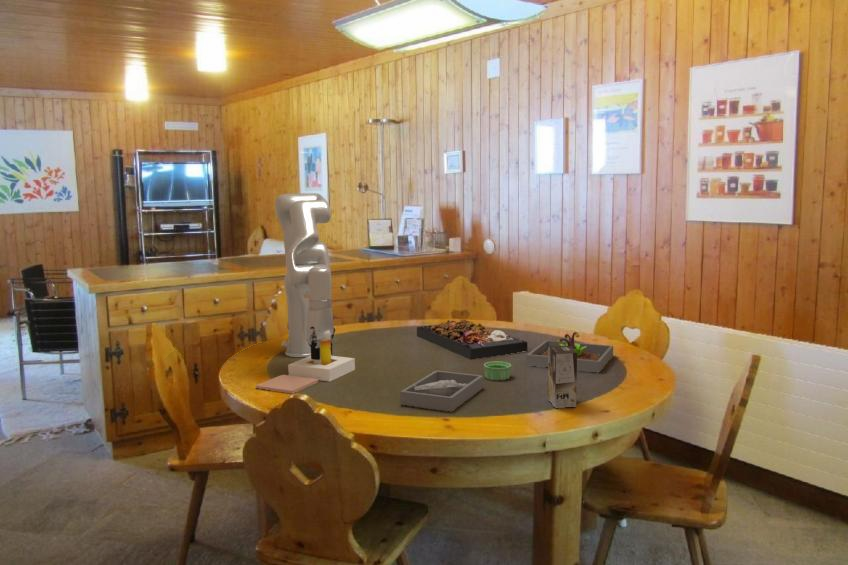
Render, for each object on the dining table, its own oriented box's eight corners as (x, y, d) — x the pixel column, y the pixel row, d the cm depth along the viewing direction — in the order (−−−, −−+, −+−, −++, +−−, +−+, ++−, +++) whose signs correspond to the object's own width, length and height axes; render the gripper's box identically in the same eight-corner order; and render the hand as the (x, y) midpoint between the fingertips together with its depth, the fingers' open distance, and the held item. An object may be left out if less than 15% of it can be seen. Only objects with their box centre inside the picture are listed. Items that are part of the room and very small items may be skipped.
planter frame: (526, 366, 245) (526, 354, 245) (545, 350, 268) (545, 340, 267) (599, 373, 235) (599, 361, 234) (613, 356, 257) (613, 345, 256)
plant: (565, 372, 238) (566, 339, 237) (532, 359, 256) (533, 329, 254) (612, 365, 247) (613, 333, 245) (577, 353, 264) (577, 323, 263)
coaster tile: (255, 388, 221) (255, 385, 221) (282, 377, 234) (282, 374, 233) (292, 394, 215) (292, 390, 215) (318, 382, 228) (318, 379, 227)
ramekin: (478, 375, 234) (478, 362, 233) (502, 372, 237) (502, 360, 237) (491, 382, 225) (492, 369, 225) (516, 379, 229) (516, 366, 228)
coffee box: (577, 408, 199) (578, 352, 197) (554, 409, 199) (555, 353, 196) (567, 398, 208) (568, 345, 206) (546, 399, 208) (547, 345, 205)
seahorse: (457, 382, 222) (405, 383, 210) (481, 377, 213) (427, 378, 201) (459, 399, 220) (406, 401, 209) (483, 394, 212) (429, 396, 200)
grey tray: (400, 404, 204) (400, 391, 203) (435, 382, 226) (435, 370, 225) (451, 412, 197) (451, 398, 196) (483, 388, 219) (483, 375, 219)
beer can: (334, 371, 241) (333, 328, 238) (326, 376, 235) (325, 331, 233) (318, 370, 243) (317, 327, 240) (310, 374, 237) (308, 330, 235)
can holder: (288, 376, 235) (288, 364, 234) (315, 365, 249) (315, 353, 249) (329, 381, 228) (329, 369, 228) (354, 369, 242) (354, 358, 242)
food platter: (527, 353, 266) (527, 326, 264) (470, 361, 255) (470, 333, 254) (468, 331, 306) (468, 308, 304) (416, 337, 295) (416, 313, 294)
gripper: (325, 299, 245) (326, 350, 247) (295, 308, 229) (297, 361, 232) (343, 301, 242) (344, 352, 244) (315, 309, 226) (316, 363, 229)
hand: (321, 356), depth 238 cm, fingers open, 6 cm apart
